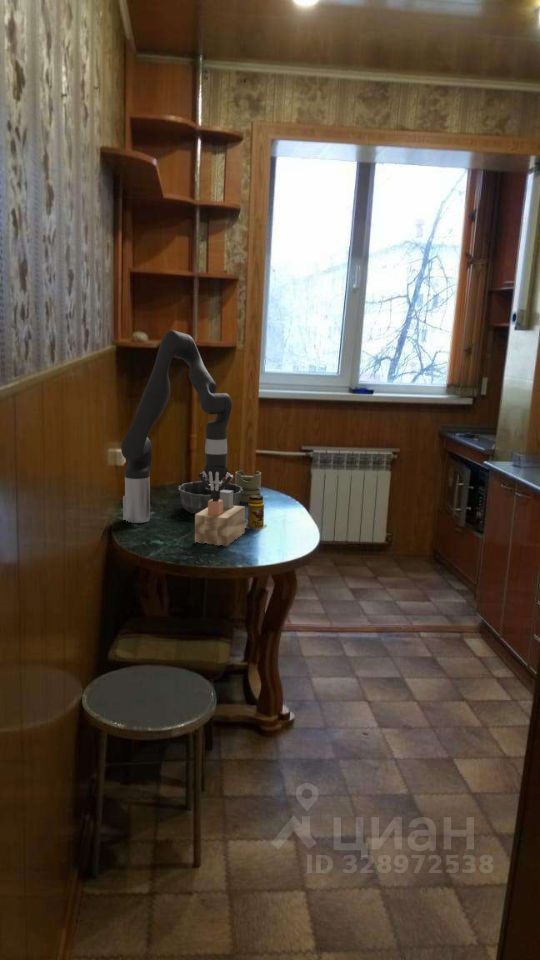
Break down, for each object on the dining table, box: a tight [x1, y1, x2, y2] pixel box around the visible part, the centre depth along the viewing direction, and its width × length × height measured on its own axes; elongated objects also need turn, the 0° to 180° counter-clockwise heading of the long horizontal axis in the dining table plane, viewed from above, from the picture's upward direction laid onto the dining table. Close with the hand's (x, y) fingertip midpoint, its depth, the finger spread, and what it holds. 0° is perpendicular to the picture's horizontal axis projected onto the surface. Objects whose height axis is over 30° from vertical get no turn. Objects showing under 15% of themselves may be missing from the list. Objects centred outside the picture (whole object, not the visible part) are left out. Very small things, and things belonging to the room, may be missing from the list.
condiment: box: [245, 495, 267, 530], centre depth 270 cm, size 7×8×12 cm
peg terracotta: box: [208, 499, 223, 516], centre depth 248 cm, size 4×4×8 cm
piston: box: [234, 470, 262, 503], centre depth 313 cm, size 11×12×11 cm
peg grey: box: [219, 490, 233, 510], centre depth 257 cm, size 4×4×8 cm
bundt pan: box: [178, 480, 243, 515], centre depth 291 cm, size 26×26×10 cm
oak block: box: [194, 505, 246, 547], centre depth 254 cm, size 12×18×10 cm, turn 162°
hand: (215, 500), depth 247 cm, fingers closed
